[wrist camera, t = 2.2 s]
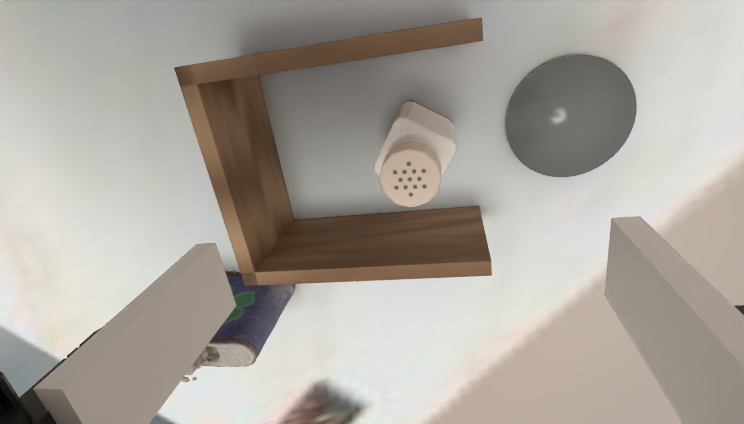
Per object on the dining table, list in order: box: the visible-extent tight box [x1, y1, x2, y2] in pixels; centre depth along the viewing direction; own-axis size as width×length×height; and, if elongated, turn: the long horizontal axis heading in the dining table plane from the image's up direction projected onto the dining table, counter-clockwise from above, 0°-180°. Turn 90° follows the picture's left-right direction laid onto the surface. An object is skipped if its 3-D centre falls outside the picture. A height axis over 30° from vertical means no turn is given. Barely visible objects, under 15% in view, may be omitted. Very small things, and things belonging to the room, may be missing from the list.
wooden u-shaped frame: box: [174, 18, 492, 286], centre depth 27 cm, size 14×16×8 cm
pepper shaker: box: [374, 101, 456, 207], centre depth 25 cm, size 4×4×10 cm
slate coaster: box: [505, 55, 636, 177], centre depth 27 cm, size 8×8×1 cm
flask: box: [181, 271, 294, 382], centre depth 33 cm, size 9×3×11 cm, turn 89°
